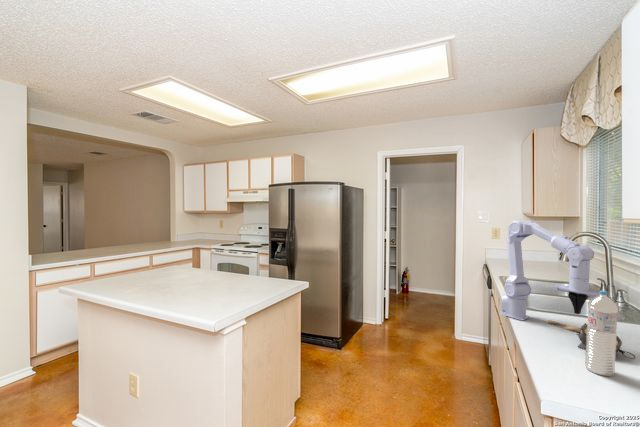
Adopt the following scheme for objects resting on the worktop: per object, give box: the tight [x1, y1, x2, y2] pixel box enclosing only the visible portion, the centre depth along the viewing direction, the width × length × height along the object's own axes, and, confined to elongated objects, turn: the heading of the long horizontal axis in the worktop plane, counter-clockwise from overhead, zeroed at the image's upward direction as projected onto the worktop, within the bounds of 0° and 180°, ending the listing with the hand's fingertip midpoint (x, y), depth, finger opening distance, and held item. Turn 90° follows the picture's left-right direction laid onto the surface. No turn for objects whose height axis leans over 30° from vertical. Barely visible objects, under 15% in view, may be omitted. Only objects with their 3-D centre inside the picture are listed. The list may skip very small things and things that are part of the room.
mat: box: [577, 341, 586, 351], centre depth 113 cm, size 8×14×1 cm, turn 128°
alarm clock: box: [571, 323, 637, 360], centre depth 108 cm, size 11×5×16 cm
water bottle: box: [584, 290, 619, 377], centre depth 95 cm, size 7×7×25 cm
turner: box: [547, 320, 581, 332], centre depth 129 cm, size 14×4×1 cm, turn 38°
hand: (577, 313), depth 117 cm, fingers closed
